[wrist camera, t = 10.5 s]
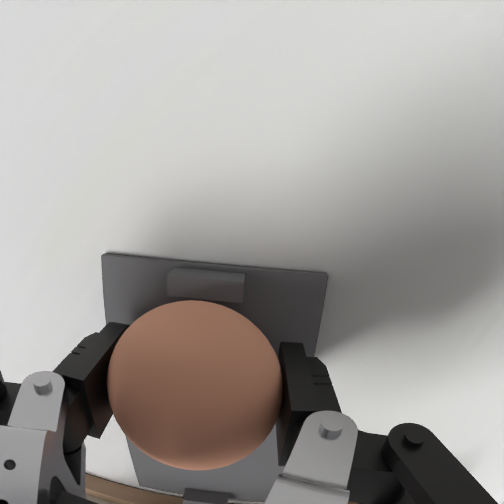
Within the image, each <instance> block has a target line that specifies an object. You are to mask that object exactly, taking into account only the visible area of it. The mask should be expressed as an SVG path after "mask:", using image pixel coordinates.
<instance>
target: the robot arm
mask: <svg viewBox="0 0 504 504" xmlns="http://www.w3.org/2000/svg"><path fill="white" fill-rule="evenodd" d="M129 327H130V325H128V324H122V323H116V322H109V323H108V324H107V325H106V326H105V327H104V328H103V329H102V330H101V331H100V333H96V332H95V333H93V334H91V335H89V336H87V337H85V338H84V339H83V340H82V341H81V342H80V343H79V344H78V345H77V347H75V348H74V349H73V350H72V351H71V353H70V354H69V355H68V356H67V357H66V358H65V359H64V360H63V361H62V362H61V363H60V364H59V365H58V366H57V367H56V368H55V370H54V371H53V372H50V371H41V372H36V373H33V374H31V375H29V376H28V377H26V378H25V379H24V381H23V382H22V384H18V383H9V382H4V380H3V377H2V374H1V371H0V504H98V503H95V502H92V501H90V500H87V497H86V490H85V458H86V447H85V444H84V439H85V438H86V436H87V435H89V436H92V437H95V438H99V439H100V437H101V435H102V433H103V431H104V429H105V428H106V426H107V424H108V422H109V420H110V418H111V417H112V415H113V411H112V409H111V405H110V402H109V397H108V389H107V374H108V367H109V362H110V359H111V356H112V353H113V350H114V348H115V346H116V344H117V342H118V341H119V339H120V338H121V336H122V335H123V333H124V332H125V331H126V330H127V329H128V328H129ZM278 360H279V364H280V368H281V372H282V376H283V397H282V405H281V410H280V414H279V417H278V419H277V421H276V437H277V451H278V466H285V468H284V470H283V472H282V474H279V476H278V477H277V479H276V481H275V483H274V485H273V487H272V489H271V491H270V493H269V495H268V497H267V499H266V501H265V503H264V504H348V501H350V502H357V503H358V504H498V503H497V502H496V501H495V500H494V499H493V498H492V497H491V496H490V494H489V493H488V492H487V491H486V490H485V489H484V488H483V487H482V486H481V485H480V484H479V482H478V481H477V480H476V479H475V478H474V477H473V476H472V475H471V474H470V473H469V472H468V471H467V470H466V468H465V467H464V466H463V465H462V464H461V463H460V462H459V461H458V460H457V459H456V458H455V457H454V456H453V454H452V453H451V452H450V451H449V450H448V449H447V448H446V447H445V446H444V445H443V444H442V443H441V442H440V440H439V439H438V438H437V437H436V436H435V435H434V434H433V433H432V432H431V431H430V430H429V429H427V428H425V427H424V426H421V425H418V424H414V423H403V424H399V425H397V426H395V427H394V428H393V429H391V431H390V432H389V435H388V436H386V435H379V434H372V433H366V432H363V431H360V430H358V428H357V425H356V424H355V422H354V421H353V420H352V419H351V418H350V417H348V416H347V415H345V414H342V412H341V409H340V406H339V403H338V400H337V397H336V394H335V391H334V388H333V386H332V382H331V379H330V377H329V374H328V371H327V368H326V366H325V365H324V364H323V363H322V362H321V361H320V360H319V359H318V358H317V357H306V353H305V349H304V346H303V343H299V342H280V346H279V352H278Z"/></svg>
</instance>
